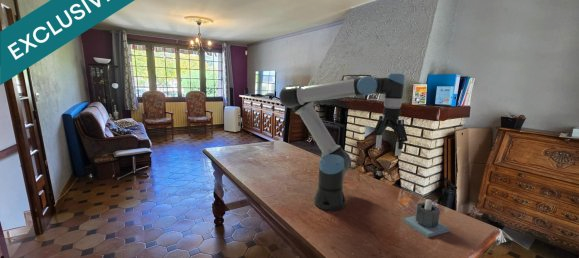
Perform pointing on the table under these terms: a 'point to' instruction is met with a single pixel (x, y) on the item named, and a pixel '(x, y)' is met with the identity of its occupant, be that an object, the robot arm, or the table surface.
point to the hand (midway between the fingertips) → (387, 151)
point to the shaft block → (425, 229)
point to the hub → (427, 215)
